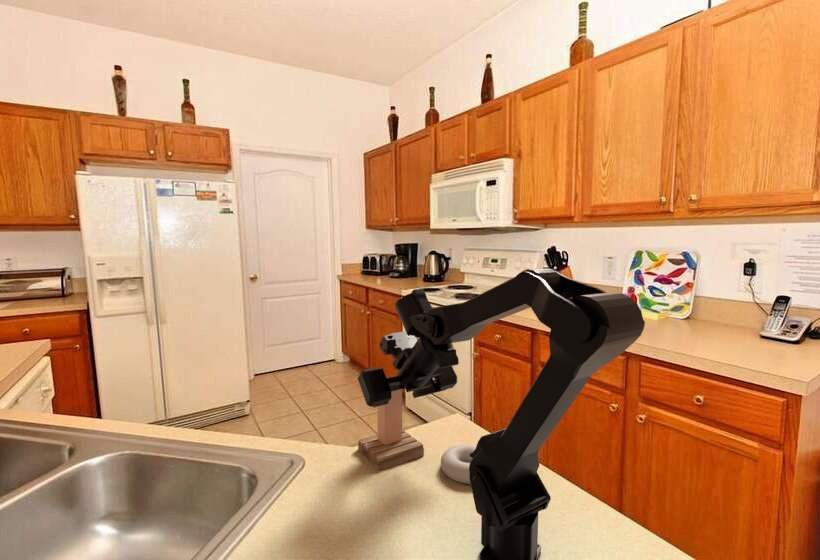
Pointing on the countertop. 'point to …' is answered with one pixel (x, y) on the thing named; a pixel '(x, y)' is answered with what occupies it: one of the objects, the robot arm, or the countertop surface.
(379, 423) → the clay bar
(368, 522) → the countertop surface
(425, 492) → the countertop surface
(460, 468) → the donut
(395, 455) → the stacked wooden slats
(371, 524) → the countertop surface
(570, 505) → the countertop surface
